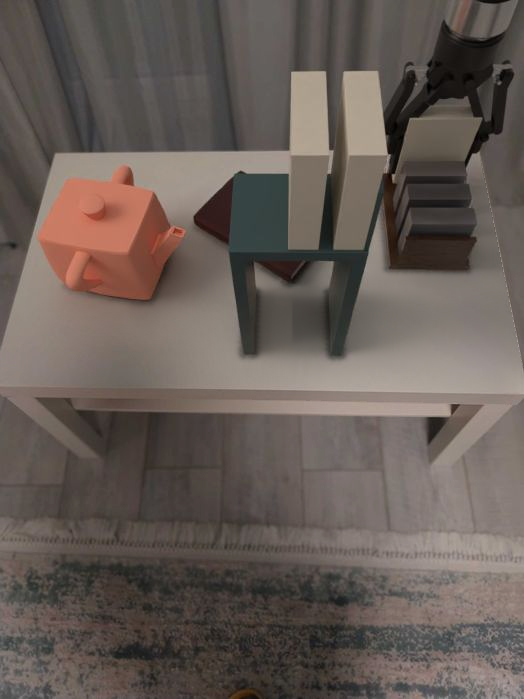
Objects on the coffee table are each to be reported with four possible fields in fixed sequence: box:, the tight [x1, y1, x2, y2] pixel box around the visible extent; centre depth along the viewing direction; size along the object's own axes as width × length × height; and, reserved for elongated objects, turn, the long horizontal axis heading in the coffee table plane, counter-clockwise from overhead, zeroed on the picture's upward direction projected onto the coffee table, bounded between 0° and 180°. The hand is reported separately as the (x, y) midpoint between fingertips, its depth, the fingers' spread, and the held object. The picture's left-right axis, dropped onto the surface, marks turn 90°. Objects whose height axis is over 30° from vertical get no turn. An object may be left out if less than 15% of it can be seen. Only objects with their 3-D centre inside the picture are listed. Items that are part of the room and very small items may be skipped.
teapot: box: [36, 165, 187, 301], centre depth 72 cm, size 20×22×14 cm
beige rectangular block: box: [392, 104, 482, 183], centre depth 75 cm, size 3×10×12 cm, turn 88°
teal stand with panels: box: [227, 70, 388, 356], centre depth 57 cm, size 14×11×36 cm
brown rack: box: [381, 161, 478, 270], centre depth 77 cm, size 19×12×9 cm, turn 178°
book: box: [192, 170, 310, 283], centre depth 79 cm, size 13×19×3 cm, turn 53°
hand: (425, 167), depth 79 cm, fingers closed on beige rectangular block, 10 cm apart
